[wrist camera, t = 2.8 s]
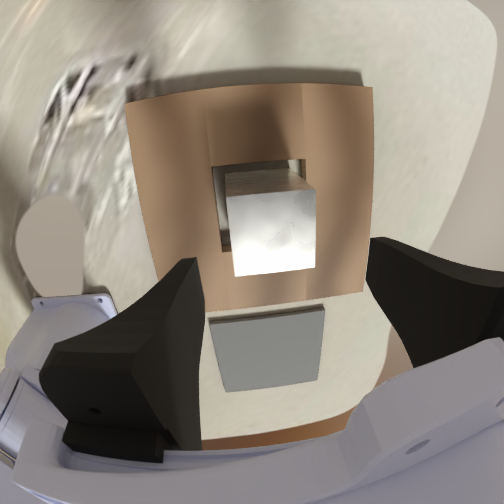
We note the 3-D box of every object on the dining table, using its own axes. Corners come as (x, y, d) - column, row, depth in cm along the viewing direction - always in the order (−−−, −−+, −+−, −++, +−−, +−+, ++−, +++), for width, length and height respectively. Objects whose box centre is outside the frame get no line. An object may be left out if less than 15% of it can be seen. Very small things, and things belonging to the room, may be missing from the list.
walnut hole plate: (170, 306, 23) (168, 315, 22) (130, 104, 16) (124, 103, 15) (357, 283, 24) (362, 291, 23) (364, 88, 17) (372, 87, 16)
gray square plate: (225, 389, 29) (225, 392, 28) (209, 321, 24) (209, 324, 24) (316, 377, 29) (317, 379, 29) (323, 307, 25) (325, 310, 24)
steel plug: (231, 233, 21) (235, 276, 16) (225, 173, 19) (225, 197, 14) (291, 227, 21) (314, 267, 16) (289, 168, 19) (315, 189, 14)
